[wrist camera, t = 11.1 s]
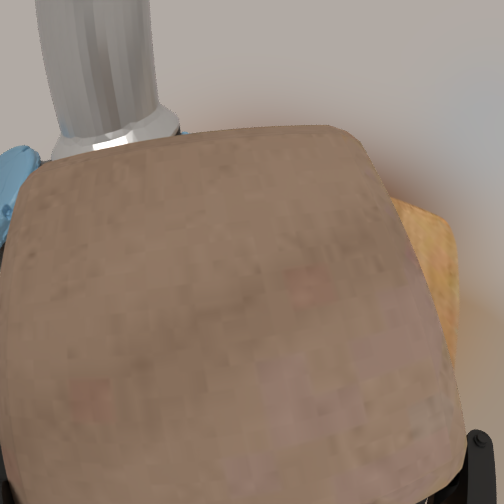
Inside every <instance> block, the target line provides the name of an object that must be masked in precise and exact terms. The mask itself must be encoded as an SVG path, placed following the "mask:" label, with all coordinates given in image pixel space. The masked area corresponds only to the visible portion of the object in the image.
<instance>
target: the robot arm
mask: <svg viewBox="0 0 504 504" xmlns="http://www.w3.org/2000/svg"><path fill="white" fill-rule="evenodd" d="M35 5H36V15H37V22H38V30H39V37H40V43H41V49H42V55H43V60H44V65H45V70H46V75H47V79H48V83H49V88H50V92H51V97H52V101H53V104H54V108H55V112H56V116H57V119H58V123H59V127H60V130H61V135H60V137H59V139H58V141H57V143H56V145H55V147H54V149H53V151H52V154H51V159H52V160H48V161H40V156H39V154H38V152H36V151H34V150H33V149H31V148H30V147H29V146H25V145H24V146H17V147H14V148H11V149H9V150H8V151H6V152H4V153H3V154H1V155H0V271H1V264H2V259H3V253H4V248H5V243H6V238H7V234H8V229H9V225H10V221H11V217H12V213H13V209H14V206H15V202H16V198H17V195H18V192H19V188H20V187H21V185H22V184H23V183H24V181H25V180H26V179H27V177H28V176H29V175H30V174H31V173H32V172H33V171H35V170H36V169H37V168H39V167H40V166H42V165H43V164H44V163H47V162H51V161H54V160H58V159H62V158H65V157H69V156H73V155H77V154H81V153H86V152H90V151H94V150H99V149H103V148H108V147H113V146H118V145H123V144H128V143H133V142H139V141H145V140H150V139H157V138H163V137H170V136H177V135H184V134H192V133H187V132H182V133H180V123H179V118H178V117H177V115H176V114H175V113H174V112H172V111H171V110H169V109H168V108H166V107H165V106H163V105H162V104H160V103H159V100H158V93H157V83H156V74H155V66H154V55H153V44H152V32H151V20H150V3H149V0H35ZM466 438H467V448H466V453H465V458H464V462H463V466H462V469H461V470H460V471H459V472H458V473H457V475H456V476H455V477H454V478H453V479H452V480H451V482H450V483H449V484H448V485H447V486H446V487H444V488H442V489H441V490H439V491H437V492H436V493H434V494H432V495H430V496H429V497H427V498H428V500H427V498H425V499H423V500H422V501H420V502H418V503H416V504H425V502H426V500H427V504H496V475H495V461H494V451H493V443H492V440H491V438H490V437H489V436H488V434H486V433H485V432H483V431H481V430H472V431H470V432H469V433H468V435H467V436H466ZM0 504H15V503H14V500H13V497H12V493H11V490H10V486H9V482H8V478H7V474H6V469H5V465H4V460H3V455H2V449H1V444H0Z"/></svg>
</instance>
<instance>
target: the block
mask: <svg viewBox="0 0 504 504" xmlns="http://www.w3.org/2000/svg"><path fill="white" fill-rule="evenodd" d="M0 444H1V449H2V455H3V460H4V465H5V469H6V474H7V478H8V482H9V486H10V490H11V493H12V497H13V500H14V503H15V504H416V503H418V502H420V501H422V500H423V499H425V498H427V497H429V496H430V495H432V494H434V493H436V492H437V491H439V490H441V489H442V488H444V487H446V486H447V485H448V484H449V483H450V482H451V480H452V479H453V478H454V477H455V476H456V475H457V473H458V472H459V471H460V470H461V469H462V466H463V462H464V458H465V453H466V448H467V438H466V431H465V424H464V419H463V413H462V408H461V402H460V398H459V393H458V388H457V384H456V379H455V375H454V371H453V367H452V363H451V359H450V355H449V351H448V348H447V344H446V341H445V337H444V334H443V330H442V327H441V324H440V321H439V317H438V314H437V311H436V308H435V305H434V302H433V299H432V297H431V294H430V291H429V288H428V285H427V283H426V280H425V277H424V275H423V272H422V269H421V267H420V264H419V262H418V259H417V257H416V254H415V252H414V249H413V247H412V245H411V242H410V240H409V238H408V235H407V233H406V231H405V229H404V226H403V224H402V222H401V220H400V218H399V215H398V213H397V211H396V209H395V207H394V205H393V203H392V201H391V199H390V197H389V195H388V193H387V191H386V189H385V187H384V185H383V183H382V181H381V179H380V177H379V175H378V173H377V172H376V170H375V167H374V166H373V164H372V162H371V160H370V158H369V156H368V155H367V153H366V151H365V149H364V148H363V146H362V144H361V143H360V141H358V140H357V139H356V138H355V137H353V136H352V135H351V134H350V133H348V132H347V131H344V130H341V129H338V128H335V127H332V126H329V125H299V126H272V127H254V128H241V129H229V130H219V131H210V132H200V133H192V134H184V135H177V136H170V137H163V138H157V139H150V140H145V141H139V142H133V143H128V144H123V145H118V146H113V147H108V148H103V149H99V150H94V151H90V152H86V153H81V154H77V155H73V156H69V157H65V158H62V159H58V160H54V161H51V162H47V163H44V164H43V165H42V166H40V167H39V168H37V169H36V170H35V171H33V172H32V173H31V174H30V175H29V176H28V177H27V179H26V180H25V181H24V183H23V184H22V185H21V187H20V188H19V192H18V195H17V198H16V202H15V206H14V209H13V213H12V217H11V221H10V225H9V229H8V234H7V238H6V243H5V248H4V253H3V259H2V264H1V271H0Z"/></svg>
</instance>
